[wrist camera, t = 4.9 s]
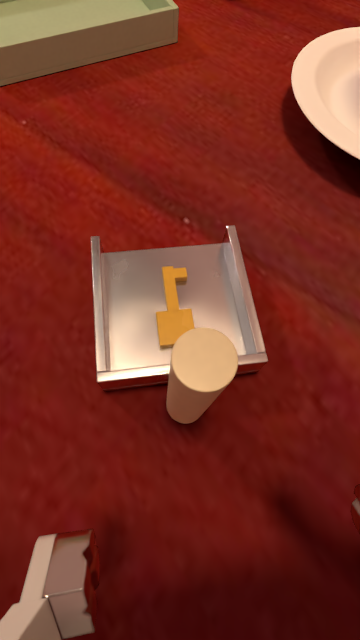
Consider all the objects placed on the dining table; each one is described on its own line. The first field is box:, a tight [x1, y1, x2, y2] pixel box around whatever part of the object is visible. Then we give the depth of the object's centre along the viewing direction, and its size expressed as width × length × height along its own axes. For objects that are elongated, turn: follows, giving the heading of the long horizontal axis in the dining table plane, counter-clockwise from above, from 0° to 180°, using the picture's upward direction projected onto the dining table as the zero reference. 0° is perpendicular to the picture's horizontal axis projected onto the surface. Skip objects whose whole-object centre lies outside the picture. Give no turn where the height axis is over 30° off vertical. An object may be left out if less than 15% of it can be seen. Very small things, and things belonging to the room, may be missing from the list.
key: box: [156, 266, 195, 348], centre depth 23 cm, size 6×2×1 cm, turn 8°
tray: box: [0, 0, 179, 86], centre depth 35 cm, size 19×13×3 cm
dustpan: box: [91, 226, 268, 424], centre depth 18 cm, size 13×10×10 cm
